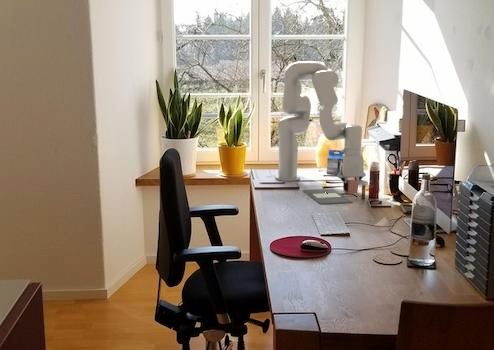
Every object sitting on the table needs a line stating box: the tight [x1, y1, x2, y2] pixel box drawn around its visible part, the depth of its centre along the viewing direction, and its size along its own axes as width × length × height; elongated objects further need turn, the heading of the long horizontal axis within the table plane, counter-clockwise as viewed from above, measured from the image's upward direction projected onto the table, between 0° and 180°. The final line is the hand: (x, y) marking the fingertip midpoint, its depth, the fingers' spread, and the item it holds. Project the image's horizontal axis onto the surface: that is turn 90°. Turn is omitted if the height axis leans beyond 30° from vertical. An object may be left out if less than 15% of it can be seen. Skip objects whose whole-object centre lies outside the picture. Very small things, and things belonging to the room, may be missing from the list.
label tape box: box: [326, 149, 344, 175], centre depth 306 cm, size 9×4×12 cm, turn 73°
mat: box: [302, 188, 354, 205], centre depth 259 cm, size 24×15×1 cm, turn 13°
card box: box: [343, 178, 359, 195], centre depth 267 cm, size 7×4×6 cm, turn 13°
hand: (350, 190), depth 267 cm, fingers closed on card box, 4 cm apart
